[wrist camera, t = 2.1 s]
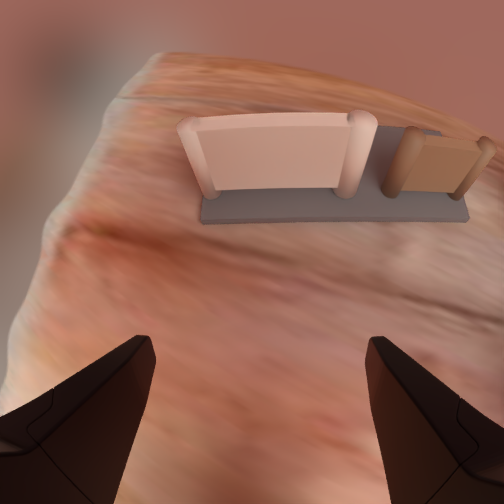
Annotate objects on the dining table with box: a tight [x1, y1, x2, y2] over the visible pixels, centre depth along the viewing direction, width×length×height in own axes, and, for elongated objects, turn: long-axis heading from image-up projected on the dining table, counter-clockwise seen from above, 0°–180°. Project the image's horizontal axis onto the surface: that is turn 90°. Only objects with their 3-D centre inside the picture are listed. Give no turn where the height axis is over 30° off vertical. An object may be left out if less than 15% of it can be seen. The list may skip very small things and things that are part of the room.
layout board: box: [200, 126, 497, 224], centre depth 23 cm, size 23×10×8 cm, turn 89°
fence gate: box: [177, 110, 378, 200], centre depth 22 cm, size 12×2×8 cm, turn 89°
